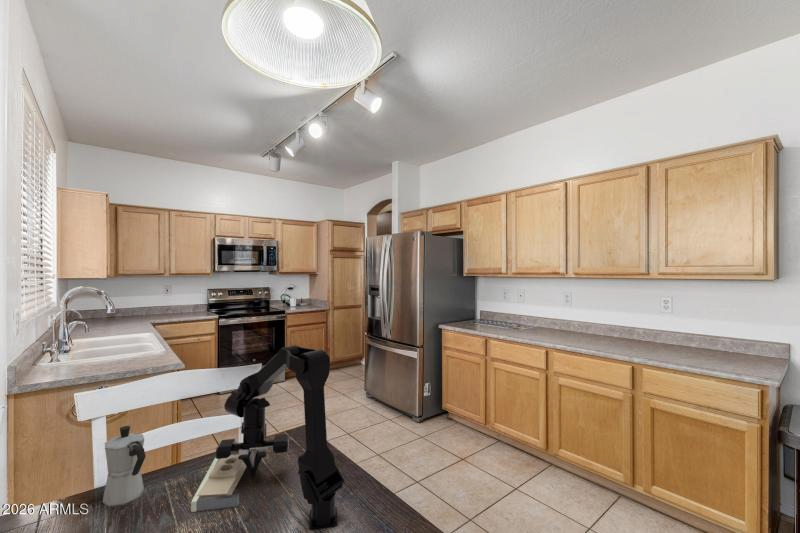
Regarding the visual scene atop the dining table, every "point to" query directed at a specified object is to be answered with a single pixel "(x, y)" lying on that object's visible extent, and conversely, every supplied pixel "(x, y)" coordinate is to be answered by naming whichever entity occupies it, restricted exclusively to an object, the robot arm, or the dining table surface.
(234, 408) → the robot arm
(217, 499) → the bracket rack
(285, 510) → the dining table surface
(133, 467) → the coffee maker
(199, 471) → the dining table surface
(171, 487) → the dining table surface
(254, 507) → the dining table surface
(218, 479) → the electrical outlet
